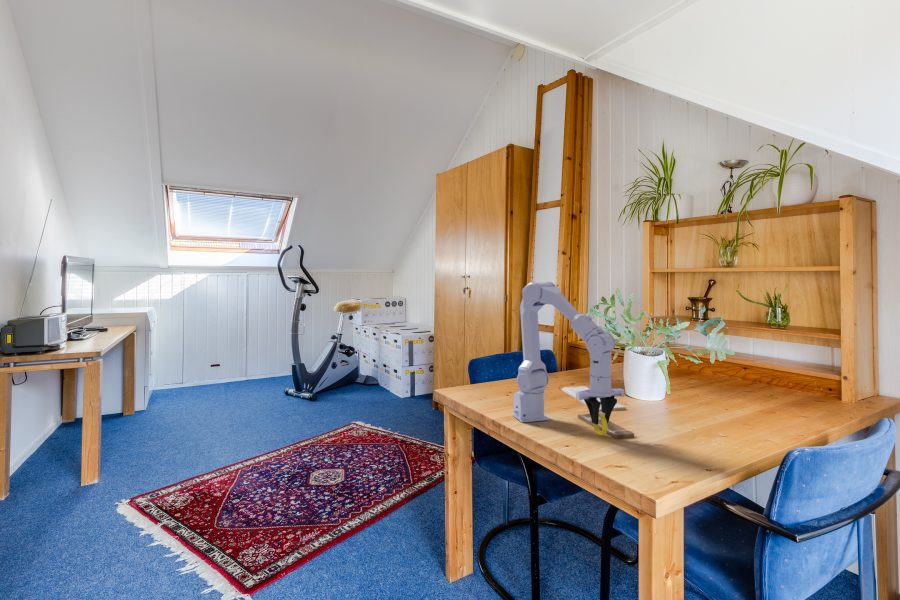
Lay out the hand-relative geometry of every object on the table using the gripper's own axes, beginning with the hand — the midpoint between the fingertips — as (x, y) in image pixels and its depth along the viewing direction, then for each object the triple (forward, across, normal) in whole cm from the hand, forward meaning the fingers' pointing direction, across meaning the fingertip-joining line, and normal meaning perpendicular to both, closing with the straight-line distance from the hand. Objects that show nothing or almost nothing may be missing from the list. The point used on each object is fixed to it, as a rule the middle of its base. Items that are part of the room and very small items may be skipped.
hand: (600, 422), depth 129 cm
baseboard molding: (+5, +19, +37) cm, 42 cm away
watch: (+3, 0, 0) cm, 3 cm away
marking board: (+4, +6, +7) cm, 10 cm away
